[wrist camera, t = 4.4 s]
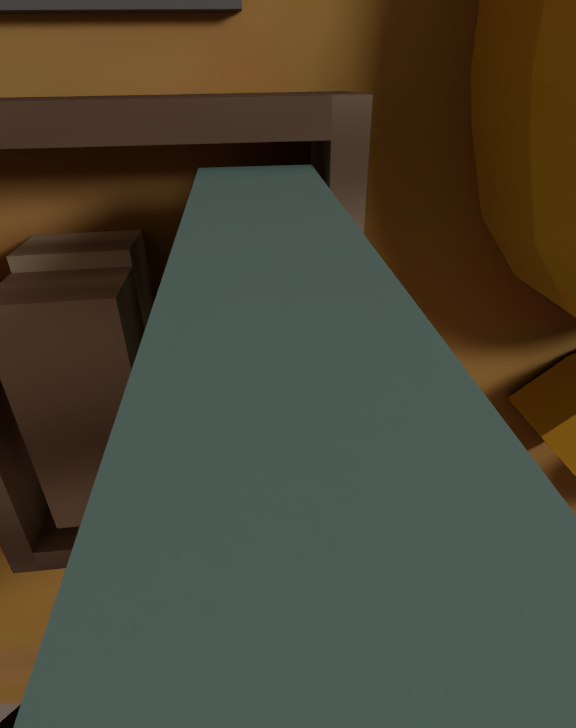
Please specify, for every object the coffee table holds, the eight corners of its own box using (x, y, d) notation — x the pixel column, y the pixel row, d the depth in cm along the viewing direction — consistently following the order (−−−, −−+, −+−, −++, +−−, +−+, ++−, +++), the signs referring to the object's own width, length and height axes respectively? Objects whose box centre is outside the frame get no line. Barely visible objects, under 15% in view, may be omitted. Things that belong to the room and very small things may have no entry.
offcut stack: (35, 233, 16) (-34, 288, 12) (142, 227, 17) (111, 279, 12) (105, 478, 22) (75, 576, 18) (184, 471, 22) (173, 566, 18)
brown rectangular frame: (-108, 100, 14) (-202, 105, 11) (343, 91, 15) (372, 94, 12) (42, 505, 22) (13, 572, 19) (329, 480, 23) (344, 541, 20)
